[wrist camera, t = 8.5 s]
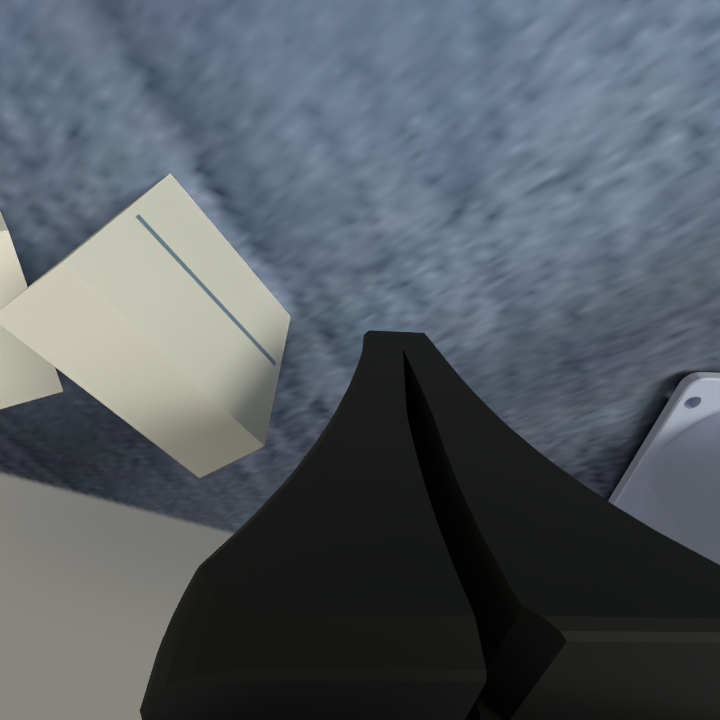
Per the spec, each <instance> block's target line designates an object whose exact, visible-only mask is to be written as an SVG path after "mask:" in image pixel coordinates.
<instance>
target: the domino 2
mask: <svg viewBox="0 0 720 720" xmlns="http://www.w3.org/2000/svg"><path fill="white" fill-rule="evenodd" d="M289 322H290V315H289V314H288V313H287V312H286V311H285V310H284V308H283V307H282V306H281V305H280V304H279V302H278V301H277V300H276V299H275V298H274V296H273V295H272V294H271V293H270V292H269V290H268V289H267V288H266V287H265V286H264V284H263V283H262V282H261V281H260V280H259V279H258V277H257V276H256V275H255V274H254V273H253V271H252V270H251V269H250V268H249V267H248V265H247V264H246V263H245V262H244V261H243V259H242V258H241V257H240V256H239V255H238V253H237V252H236V251H235V250H234V249H233V248H232V246H231V245H230V244H229V243H228V242H227V240H226V239H225V238H224V237H223V236H222V234H221V233H220V232H219V231H218V230H217V228H216V227H215V226H214V225H213V224H212V222H211V221H210V220H209V219H208V218H207V217H206V215H205V214H204V213H203V212H202V211H201V209H200V208H199V207H198V206H197V205H196V203H195V202H194V201H193V200H192V199H191V197H190V196H189V195H188V194H187V193H186V191H185V190H184V189H183V188H182V187H181V186H180V184H179V183H178V182H177V181H176V180H175V178H174V177H173V176H172V175H171V174H169V175H167V176H166V177H165V178H163V179H162V180H161V181H160V182H158V183H157V184H156V185H155V186H153V187H152V188H151V189H149V190H148V191H147V192H146V193H144V194H143V195H142V196H140V197H139V198H138V199H137V200H135V201H134V202H133V203H131V204H130V205H129V206H128V207H126V208H125V209H124V210H122V211H121V212H120V213H119V214H117V215H116V216H115V217H114V218H113V219H111V220H110V221H109V222H108V223H106V224H105V225H104V226H103V227H101V228H100V229H99V230H98V231H97V232H95V233H94V234H93V235H92V236H90V237H89V238H88V239H87V240H85V241H84V242H83V243H82V244H81V245H79V246H78V247H77V248H76V249H74V250H73V251H72V252H71V253H69V254H68V255H67V256H66V257H65V258H63V259H62V260H61V261H60V262H58V263H57V264H56V265H55V266H53V267H52V268H51V269H50V270H49V271H47V272H46V273H45V274H44V275H42V276H41V277H40V278H39V279H37V280H36V281H35V282H34V283H33V284H31V285H30V286H29V287H28V288H26V289H25V290H24V291H23V292H21V293H20V294H19V295H18V296H17V297H15V298H14V299H13V300H12V301H10V302H9V303H8V304H7V305H5V306H4V307H3V308H2V309H1V310H0V325H1V326H3V327H4V328H5V329H7V330H8V331H9V332H10V333H12V334H13V335H14V336H16V337H17V338H18V339H20V340H21V341H22V342H23V343H25V344H26V345H27V346H29V347H30V348H31V349H32V350H34V351H35V352H36V353H38V354H39V355H40V356H42V357H43V358H44V359H45V360H47V361H48V362H49V363H51V364H52V365H53V366H55V367H56V368H57V369H58V370H60V371H61V372H62V373H64V374H65V375H66V376H67V377H69V378H70V379H71V380H73V381H74V382H75V383H77V384H78V385H79V386H80V387H82V388H83V389H84V390H86V391H87V392H88V393H90V394H91V395H92V396H93V397H95V398H96V399H97V400H99V401H100V402H101V403H102V404H104V405H105V406H106V407H108V408H109V409H110V410H112V411H113V412H114V413H115V414H117V415H118V416H119V417H121V418H122V419H123V420H125V421H126V422H127V423H128V424H130V425H131V426H132V427H134V428H135V429H136V430H137V431H139V432H140V433H141V434H143V435H144V436H145V437H147V438H148V439H149V440H150V441H152V442H153V443H154V444H156V445H157V446H158V447H160V448H161V449H162V450H163V451H165V452H166V453H167V454H169V455H170V456H171V457H172V458H174V459H175V460H176V461H178V462H179V463H180V464H182V465H183V466H184V467H185V468H187V469H188V470H189V471H191V472H192V473H193V474H195V475H196V476H197V477H198V478H201V477H203V476H205V475H207V474H209V473H211V472H213V471H215V470H217V469H219V468H221V467H223V466H226V465H228V464H230V463H232V462H234V461H236V460H238V459H240V458H242V457H244V456H246V455H248V454H250V453H252V452H254V451H256V450H258V449H260V448H262V447H264V446H265V442H266V437H267V432H268V427H269V422H270V417H271V412H272V407H273V402H274V397H275V392H276V387H277V382H278V377H279V372H280V367H281V362H282V357H283V352H284V347H285V342H286V337H287V332H288V327H289Z"/></svg>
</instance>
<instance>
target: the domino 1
mask: <svg viewBox="0 0 720 720" xmlns="http://www.w3.org/2000/svg"><path fill="white" fill-rule="evenodd" d="M26 288H28V287H27V284H26V281H25V278H24V275H23V272H22V269H21V266H20V263H19V260H18V257H17V254H16V252H15V249H14V246H13V243H12V240H11V237H10V234H9V231H8V229H7V226H6V224H5V221H4V219H3V216H2V214H1V212H0V310H1V309H2V308H3V307H4V306H5V305H7V304H8V303H9V302H10V301H12V300H13V299H14V298H15V297H17V296H18V295H19V294H20V293H21V292H23V291H24V290H25V289H26ZM60 392H63V389H62V386H61V383H60V380H59V377H58V374H57V371H56V368H55V366H53V365H52V364H51V363H49V362H48V361H47V360H45V359H44V358H43V357H42V356H40V355H39V354H38V353H36V352H35V351H34V350H32V349H31V348H30V347H29V346H27V345H26V344H25V343H23V342H22V341H21V340H20V339H18V338H17V337H16V336H14V335H13V334H12V333H10V332H9V331H8V330H7V329H5V328H4V327H3V326H1V325H0V409H3V408H6V407H10V406H14V405H17V404H21V403H24V402H28V401H31V400H35V399H38V398H42V397H45V396H49V395H53V394H56V393H60Z"/></svg>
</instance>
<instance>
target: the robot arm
mask: <svg viewBox="0 0 720 720" xmlns="http://www.w3.org/2000/svg"><path fill="white" fill-rule="evenodd" d="M140 713H141V717H142V720H720V373H711V372H697V373H692V374H690V375H688V376H686V377H685V378H683V379H682V380H681V381H680V383H679V384H678V386H677V388H676V389H675V391H674V393H673V394H672V396H671V397H670V399H669V401H668V402H667V404H666V406H665V407H664V409H663V411H662V412H661V414H660V416H659V417H658V419H657V421H656V422H655V424H654V426H653V427H652V429H651V431H650V432H649V434H648V436H647V437H646V439H645V441H644V442H643V444H642V446H641V447H640V449H639V450H638V452H637V454H636V455H635V457H634V459H633V460H632V462H631V464H630V465H629V467H628V469H627V470H626V472H625V474H624V475H623V477H622V479H621V480H620V482H619V484H618V485H617V487H616V489H615V490H614V492H613V494H612V495H611V497H610V499H609V500H608V501H607V500H605V499H604V498H602V497H601V496H599V495H598V494H596V493H595V492H593V491H592V490H590V489H589V488H587V487H586V486H584V485H583V484H581V483H580V482H579V481H577V480H576V479H574V478H573V477H572V476H570V475H569V474H567V473H566V472H565V471H563V470H562V469H560V468H559V467H558V466H556V465H555V464H554V463H552V462H551V461H550V460H548V459H547V458H546V457H544V456H543V455H542V454H541V453H539V452H538V451H537V450H536V449H534V448H533V447H532V446H531V445H530V444H528V443H527V442H526V441H525V440H524V439H522V438H521V437H520V436H519V435H518V434H517V433H515V432H514V431H513V430H512V429H511V428H510V427H509V426H507V425H506V424H505V423H504V422H503V421H502V420H501V419H500V418H499V417H498V416H497V415H496V414H495V413H494V412H493V411H492V410H491V409H490V408H489V407H488V406H487V405H486V404H485V403H484V402H483V401H482V400H481V399H480V398H479V397H478V396H477V395H476V394H475V393H474V392H473V391H472V390H471V389H470V387H469V386H468V385H467V384H466V383H465V382H464V381H463V380H462V378H461V377H460V376H459V375H458V374H457V373H456V371H455V370H454V369H453V368H452V367H451V365H450V364H449V363H448V362H447V361H446V359H445V358H444V357H443V356H442V354H441V353H440V352H439V351H438V349H437V348H436V347H435V346H434V344H433V343H432V342H431V341H430V339H429V338H428V337H427V336H426V335H425V333H412V332H389V331H368V332H367V333H366V334H364V339H363V350H362V354H361V357H360V360H359V363H358V366H357V369H356V371H355V373H354V376H353V378H352V380H351V383H350V385H349V387H348V389H347V391H346V393H345V395H344V397H343V399H342V401H341V402H340V404H339V406H338V408H337V410H336V412H335V414H334V415H333V417H332V418H331V420H330V422H329V423H328V425H327V427H326V428H325V430H324V431H323V433H322V434H321V436H320V437H319V439H318V440H317V441H316V443H315V444H314V446H313V447H312V448H311V450H310V451H309V452H308V454H307V455H306V456H305V458H304V459H303V460H302V461H301V463H300V464H299V465H298V467H297V468H296V469H295V470H294V472H293V473H292V474H291V475H290V476H289V478H288V479H287V480H286V481H285V482H284V483H283V484H282V485H281V487H280V488H279V489H278V490H277V491H276V492H275V493H274V494H273V495H272V496H271V497H270V498H269V500H268V501H267V502H266V503H265V504H264V505H263V506H262V507H261V508H260V509H259V510H258V511H257V512H256V514H255V515H254V516H253V517H252V518H251V519H250V520H249V521H248V522H247V523H246V524H245V525H243V526H242V527H241V528H240V529H239V530H238V531H237V532H236V533H235V534H234V535H233V536H231V537H230V538H229V539H228V540H227V541H226V542H225V543H224V544H223V545H222V546H221V547H219V548H218V549H217V550H216V551H215V552H214V553H213V554H212V555H211V556H210V557H209V558H208V559H206V560H205V561H204V562H203V563H202V564H201V565H200V566H199V567H198V569H197V571H196V572H195V574H194V576H193V577H192V579H191V581H190V583H189V585H188V587H187V589H186V590H185V592H184V594H183V596H182V598H181V600H180V602H179V604H178V606H177V608H176V610H175V612H174V614H173V616H172V618H171V621H170V623H169V625H168V628H167V631H166V633H165V635H164V637H163V639H162V642H161V645H160V647H159V650H158V653H157V656H156V659H155V662H154V666H153V669H152V672H151V675H150V679H149V682H148V686H147V689H146V692H145V695H144V699H143V702H142V705H141V708H140Z"/></svg>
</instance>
